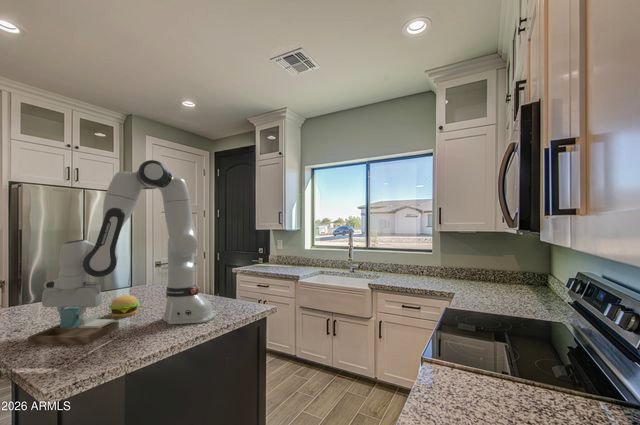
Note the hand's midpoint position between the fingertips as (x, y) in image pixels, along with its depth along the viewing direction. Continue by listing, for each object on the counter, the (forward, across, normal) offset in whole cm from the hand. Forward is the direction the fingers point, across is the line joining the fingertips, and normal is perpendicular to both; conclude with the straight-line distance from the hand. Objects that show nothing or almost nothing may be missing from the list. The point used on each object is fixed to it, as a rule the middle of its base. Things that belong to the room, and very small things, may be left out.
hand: (71, 318), depth 110 cm
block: (+3, 0, 0) cm, 3 cm away
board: (+6, -5, +4) cm, 9 cm away
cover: (+2, -10, 0) cm, 10 cm away
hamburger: (+6, -4, -24) cm, 25 cm away
